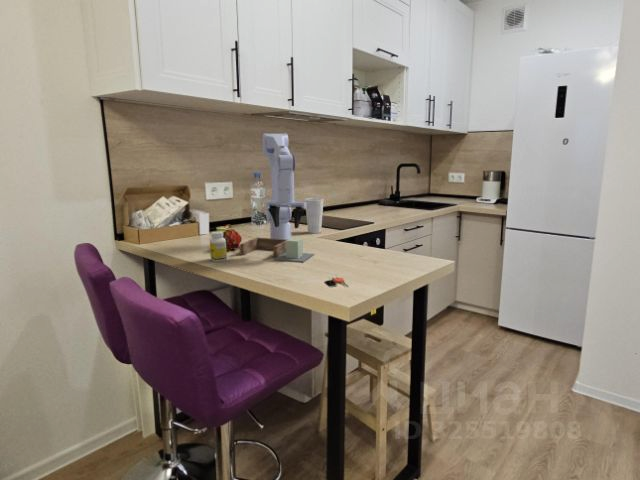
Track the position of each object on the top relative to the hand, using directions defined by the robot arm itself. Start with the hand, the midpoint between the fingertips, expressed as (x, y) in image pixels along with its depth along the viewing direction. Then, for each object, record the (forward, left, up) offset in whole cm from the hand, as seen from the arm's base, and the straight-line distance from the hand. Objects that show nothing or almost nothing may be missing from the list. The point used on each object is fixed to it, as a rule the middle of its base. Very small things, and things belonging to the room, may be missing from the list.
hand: (286, 227), depth 149 cm
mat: (+3, +4, -10) cm, 11 cm away
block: (+3, +4, -10) cm, 11 cm away
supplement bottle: (+14, -20, -11) cm, 26 cm away
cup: (-43, -5, -10) cm, 45 cm away
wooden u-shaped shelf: (-1, -9, -10) cm, 14 cm away
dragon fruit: (-2, -25, -11) cm, 27 cm away
